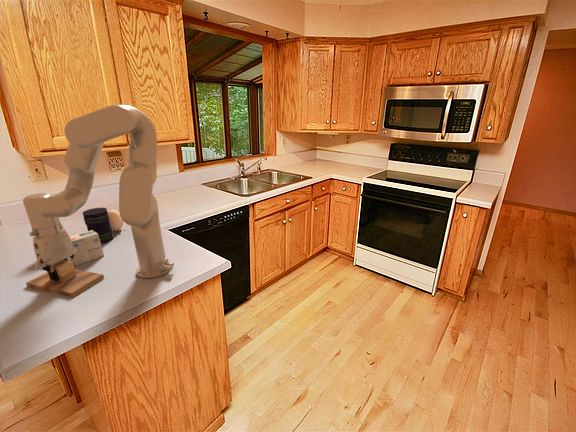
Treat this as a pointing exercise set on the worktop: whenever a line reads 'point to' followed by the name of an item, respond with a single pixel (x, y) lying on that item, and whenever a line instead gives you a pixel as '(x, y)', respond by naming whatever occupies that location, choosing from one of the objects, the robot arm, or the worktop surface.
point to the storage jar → (99, 223)
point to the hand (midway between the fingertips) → (62, 275)
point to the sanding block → (64, 270)
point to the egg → (115, 220)
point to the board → (66, 283)
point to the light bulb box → (86, 247)
